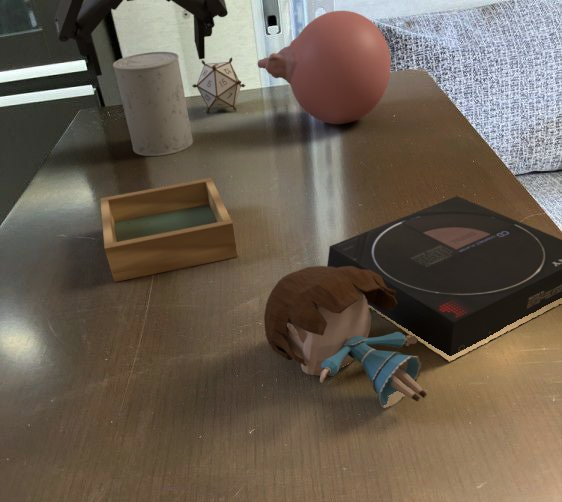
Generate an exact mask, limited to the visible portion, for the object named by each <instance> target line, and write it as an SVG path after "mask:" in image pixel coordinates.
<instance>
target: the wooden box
mask: <svg viewBox="0 0 562 502" xmlns="http://www.w3.org/2000/svg"><path fill="white" fill-rule="evenodd" d="M99 201H100V209H101V210H100V211H101V212H100V213H101V223H102V224H101V225H102V232H103V246H104V251H105V255H106V259H107V261H108V262H107V263H108V264H109V265H108V266H109V269H110V273H111V275H112V278H113V282H114V283H117V282H122V281H128V280H131V279H137V278H142V277H147V276H151V275H156V274H161V273H165V272H170V271H171V272H172V271H176V270H180V269H185V268H189V267H194V266H199V265H204V264H209V263H213V262H218V261H219V262H220V261H224V260H229V259H233V258H238V257H239V255H238V248H237V242H236V236H235V228H234V222H233V219H232V218H231V217H230V214H229V213H228V210H227V208H226V206H225V204H224V202H223V200H222V197H221V195H220V193H219V191H218V189H217V186H216V184H215V183H214V181H213V178H212V177H208V178H207V177H206V178H202V179H198V180H192V181H188V182H182V183H181V182H180V183H176V184H175V183H174V184H171V185H166V186H165V185H164V186H160V187H155V188H154V187H153V188H149V189H144V190H138V191H132V192H128V193H123V194H122V193H121V194H117V195H111V196H106V197H101V198H100V199H99Z"/></svg>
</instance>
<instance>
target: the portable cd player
mask: <svg viewBox="0 0 562 502" xmlns="http://www.w3.org/2000/svg"><path fill="white" fill-rule="evenodd" d="M327 257H328V258H327V265H326V266H329V267H335V268H338V267H345V266H354V267H356V268H358V269H361V270H371V271H373V272H375V273H376V274H378V275H380V276H381V277H382V279H383V281H384V283H385V285H386V287H387V288H388V289H392V290H395V291H396V292H395V295H394V297H395V299H396V301H397V305H396V306H395V308H394V309H393V310H392V311H387V310H383V309H381V308H379V307H377V306H376V305H374V304H372V303H370V302H368V301H367V303H368V305H370V306H372V307H373V308H374V309H375V310H377V311H379V312H381V314H383V315H385V316H387V317H388V318H390V319H391V320H393V321H395V322H396V323H397V324H399V325H401V326H402V327H404V328H406V329H408V331H411V332H412V333H413V334H415V335H416V336H418V337H420V338H421V339H423V340H424V341H426V342H428V344H431V345H432V346H434V347H435V348H437V349H439V350H441V351H443V352H444V353H446V354H447V355H449V356H452V355H454V354H456V353H458V352H460V351H462V350H464V349H466V348H467V347H470V346H472V345H473V344H476V343H477V342H479V341H481V340H483V339H486V338H487V337H489V336H490V335H493V334H494V333H496V332H498V331H500V330H501V329H503V328H504V327H506V326H507V325H510V324H512V323H514V322H516V321H517V320H519V319H522V318H523V317H525V316H528V315H529V314H531V313H534V312H536V311H537V310H539V309H541V308H542V307H544V306H546V305H548V304H550V303H552V302H554V301H556V300H558V299H560V298H562V239H561V238H559V237H556V236H555V235H552V234H550V233H546V232H544V231H542V230H540V229H537V228H535V227H533V226H530V225H527V224H525V223H523V222H520V221H519V220H516V219H514V218H512V217H508V216H506V215H504V214H501V213H499V212H496V211H495V210H492V209H489V208H487V207H485V206H482V205H480V204H477V203H475V202H472V201H471V200H468V199H466V198H463V197H461V196H458V195H456V196H453V197H451V198H448V199H446V200H443V201H441V202H438V203H436V204H433V205H430V206H428V207H426V208H423V209H420V210H418V211H416V212H413V213H410V214H408V215H405V216H402V217H400V218H398V219H394V220H393V221H390V222H388V223H385V224H383V225H380V226H377V227H375V228H372V229H369V230H368V231H364V232H362V233H360V234H357V235H354V236H352V237H349V238H347V239H344V240H342V241H339V242H337V243H334V244H331V245H329V247H328V256H327Z"/></svg>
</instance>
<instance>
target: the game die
mask: <svg viewBox="0 0 562 502" xmlns="http://www.w3.org/2000/svg"><path fill="white" fill-rule="evenodd" d="M232 62H233V57H230V58H229V59H228V61H224V62H212V63H206V61H205V60H204V59H201V64H202V65H203V67H202V70H201V73H200V74H199V77H198V80H197V83H194V84H193V85H191V87H193V88H197V90H198V92H199V94H200V96H201V97H202V99H203V102H204V104H205V106H206V107H207V108H206V114H208V113H210V110H216V109H225V108H226V109H227V108H229V109H230V108H232V110H233V111H235V112H237V107H236V106H235V105H236V103H237V99H238V96H239V94H240V91H241V88H245V87H246V84H244V83H242V80H240V79H239V78H238V75H237V73H236V71H235V69H234V67H233V65H232Z"/></svg>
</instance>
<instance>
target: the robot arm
mask: <svg viewBox="0 0 562 502" xmlns="http://www.w3.org/2000/svg"><path fill="white" fill-rule="evenodd" d="M171 1H172V2H173V3H175V4H176V5H178V6H179V7H180V8H181V9H183V10H185V11H186V12H188V13H189V14H190V15H192V16H193V36H194V37H193V38H194V39H193V40H194V44H195V48H196V52H197V57H198V60H205V59H206V51H205V49H206V48H205V47H206V46H205V42H206V41H205V38H206V37H207V38H208V37H211V36H212V35H213V28H214V27H215V20H214V18H215V17H217V16H218V17H219V18H225V17H226V16H228V14H229V13H228V8H227V4H226V0H165V2H168V3H170V2H171ZM123 2H124V0H60V1H59V2H58V3H59V4H58V7H57V10H56V13H55V15H54V18H53V19H54V20H53V21H54V25H55V29H56V34H57V38H58V40H59V41H60V42H62V43H63V42H68V41H69V40H70V39H71V40H74V41H75V43H76V46H77V49H78V52H79V55H81V56H82V57H88V56H90V60H91V63H92V67H93V71H94V74H95V76H96V77H99V76H102V75H103V72H102V67H101V64H100V60H99V56H98V53H97V49H96V46H95V42H94V39H93V32H94V31H95V30H96V28H97V27H98V26H99V25H100V24H101V22H103V20H104V19H105V18H106V17H107V15H109V13H110V12H111V11H112V10H113V11H115V10H117V9H118V8H119V7H120V5H121V4H122V3H123ZM126 2H134V0H126Z"/></svg>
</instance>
